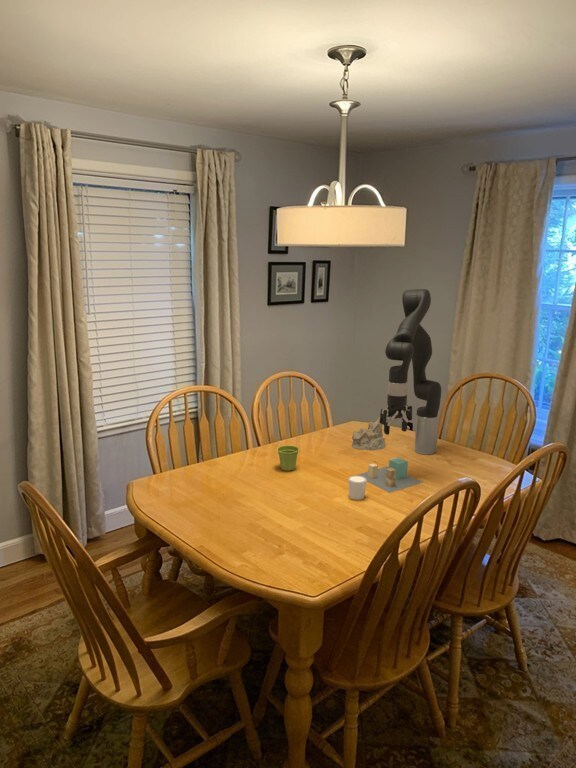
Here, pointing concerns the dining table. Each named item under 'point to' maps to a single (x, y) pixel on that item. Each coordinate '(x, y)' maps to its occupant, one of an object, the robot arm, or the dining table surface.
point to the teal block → (399, 467)
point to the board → (379, 479)
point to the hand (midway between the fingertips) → (395, 432)
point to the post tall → (390, 477)
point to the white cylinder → (357, 487)
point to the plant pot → (288, 457)
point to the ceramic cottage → (369, 437)
